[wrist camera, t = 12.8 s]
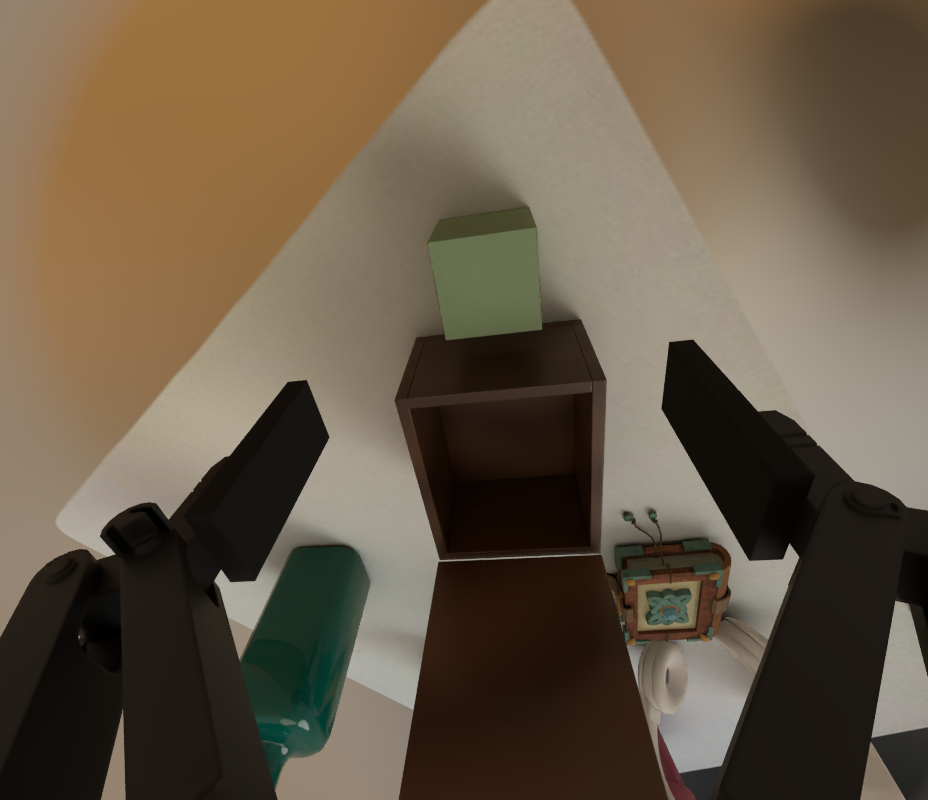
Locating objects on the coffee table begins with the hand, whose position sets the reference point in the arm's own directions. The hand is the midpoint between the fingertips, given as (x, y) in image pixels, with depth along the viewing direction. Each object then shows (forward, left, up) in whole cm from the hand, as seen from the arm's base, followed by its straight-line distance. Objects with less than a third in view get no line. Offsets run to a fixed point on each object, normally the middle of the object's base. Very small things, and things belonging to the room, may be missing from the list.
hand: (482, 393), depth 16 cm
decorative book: (+23, +29, -17) cm, 41 cm away
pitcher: (+40, -4, -17) cm, 44 cm away
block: (0, 0, -17) cm, 17 cm away
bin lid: (+17, +10, 0) cm, 19 cm away
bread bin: (+11, +6, -17) cm, 21 cm away
